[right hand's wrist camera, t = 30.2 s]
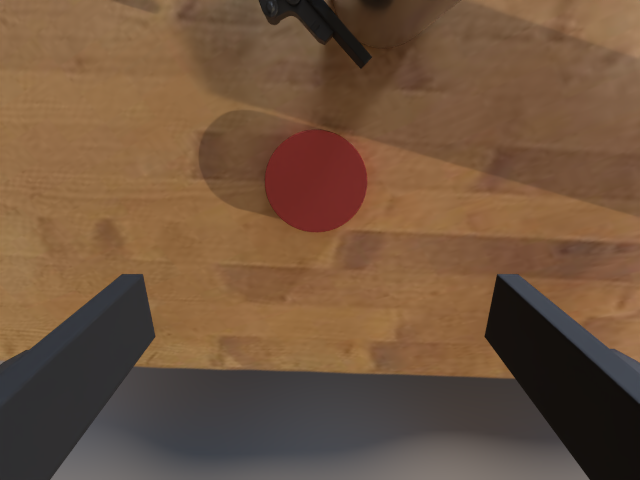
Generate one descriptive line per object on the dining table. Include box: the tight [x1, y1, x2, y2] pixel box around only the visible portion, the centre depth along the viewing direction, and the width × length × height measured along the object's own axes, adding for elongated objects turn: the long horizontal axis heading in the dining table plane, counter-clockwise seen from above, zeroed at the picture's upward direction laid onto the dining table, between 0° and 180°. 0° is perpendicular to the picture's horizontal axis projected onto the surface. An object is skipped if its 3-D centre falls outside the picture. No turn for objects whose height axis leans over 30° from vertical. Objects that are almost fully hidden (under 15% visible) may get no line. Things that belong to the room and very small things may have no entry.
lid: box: [265, 130, 367, 232], centre depth 36 cm, size 11×11×2 cm
